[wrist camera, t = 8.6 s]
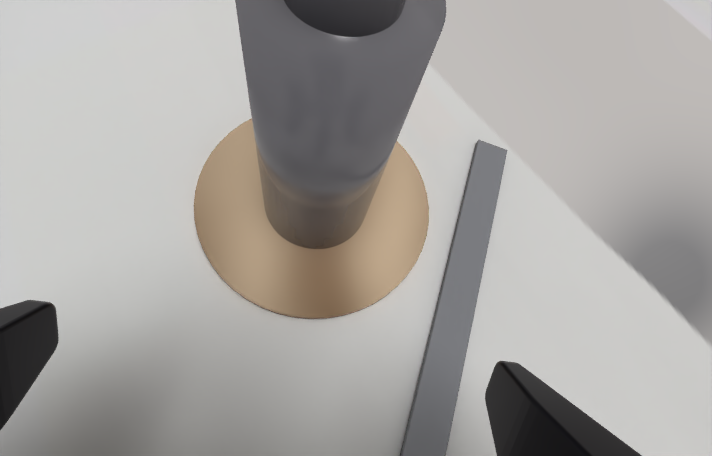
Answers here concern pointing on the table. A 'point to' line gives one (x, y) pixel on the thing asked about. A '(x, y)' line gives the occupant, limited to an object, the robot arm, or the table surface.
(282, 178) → the grey stepped cylinder
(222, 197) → the cork coaster
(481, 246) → the felt line
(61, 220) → the table surface
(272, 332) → the table surface
